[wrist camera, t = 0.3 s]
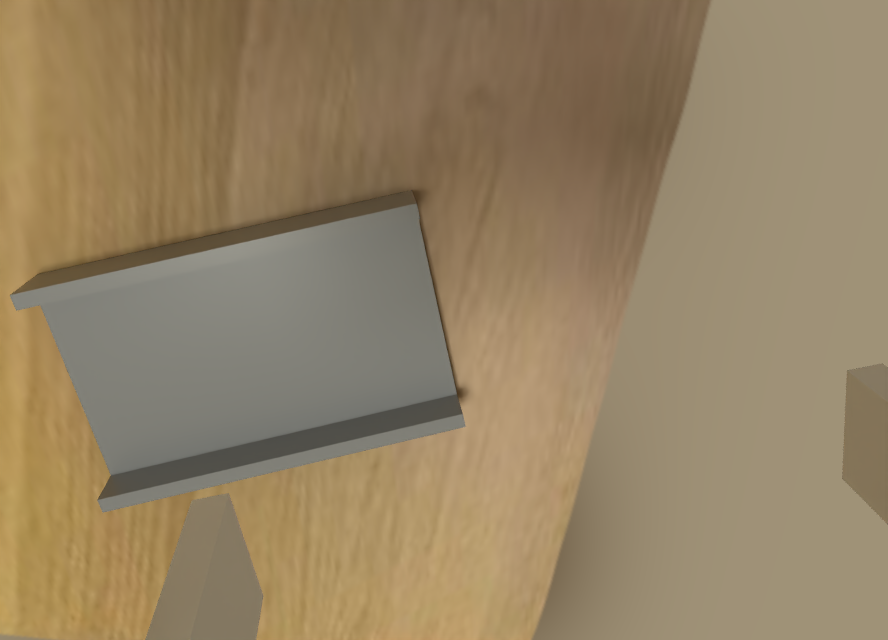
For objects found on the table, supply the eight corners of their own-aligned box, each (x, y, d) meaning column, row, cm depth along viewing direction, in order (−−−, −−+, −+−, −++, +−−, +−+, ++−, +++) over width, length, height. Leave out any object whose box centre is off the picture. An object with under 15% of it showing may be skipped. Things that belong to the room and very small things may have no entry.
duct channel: (37, 274, 41) (9, 295, 37) (411, 190, 41) (416, 203, 38) (120, 478, 45) (102, 512, 42) (457, 398, 46) (465, 426, 42)
